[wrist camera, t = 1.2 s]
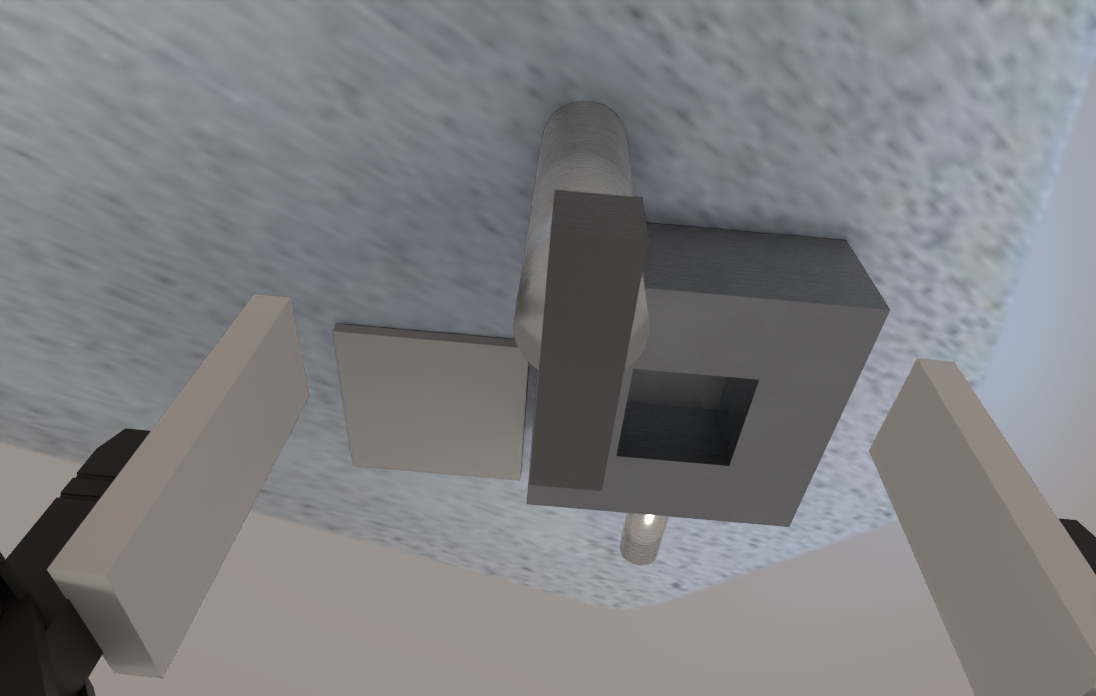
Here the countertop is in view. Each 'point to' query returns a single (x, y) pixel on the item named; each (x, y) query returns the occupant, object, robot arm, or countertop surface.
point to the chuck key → (581, 292)
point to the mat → (433, 401)
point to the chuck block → (731, 380)
